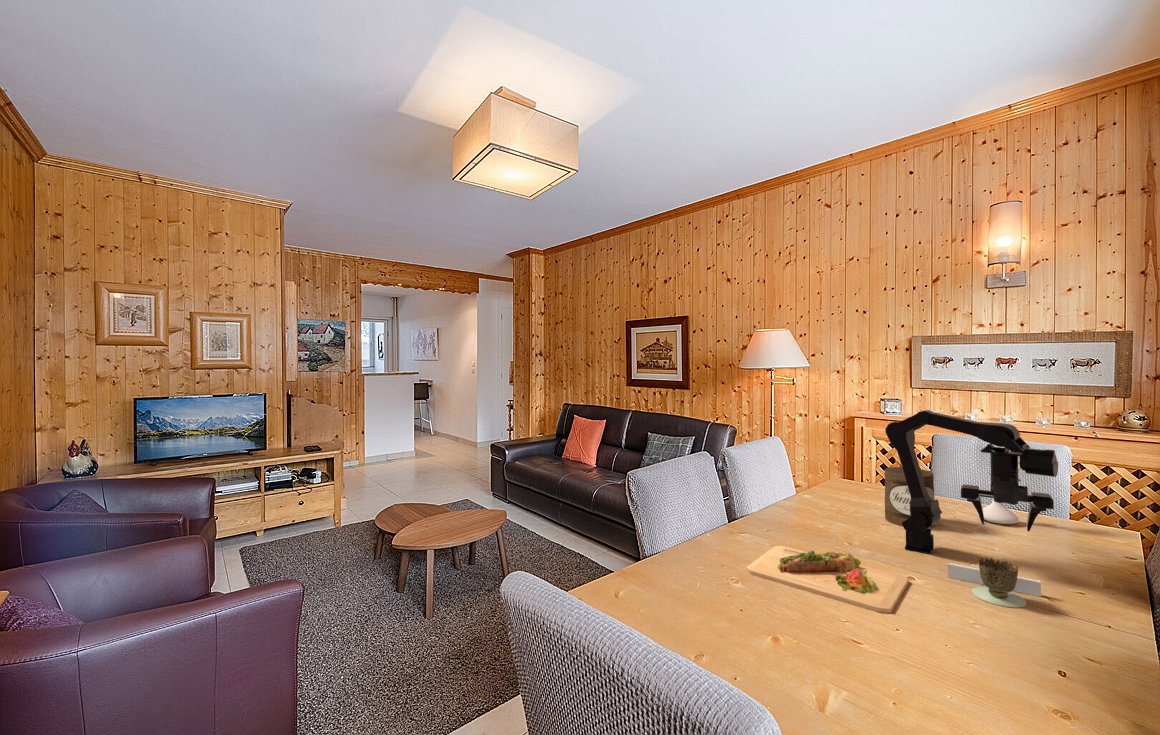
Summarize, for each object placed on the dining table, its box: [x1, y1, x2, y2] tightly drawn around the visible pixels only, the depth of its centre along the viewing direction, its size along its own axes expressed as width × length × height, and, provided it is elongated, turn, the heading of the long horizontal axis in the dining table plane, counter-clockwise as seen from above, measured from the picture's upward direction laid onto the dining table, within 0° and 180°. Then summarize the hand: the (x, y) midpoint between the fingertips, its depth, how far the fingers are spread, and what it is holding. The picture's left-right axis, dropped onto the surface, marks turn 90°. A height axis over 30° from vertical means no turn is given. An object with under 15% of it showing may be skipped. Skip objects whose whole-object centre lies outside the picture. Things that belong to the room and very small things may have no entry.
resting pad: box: [971, 586, 1027, 609], centre depth 117 cm, size 10×10×1 cm
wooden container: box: [884, 466, 936, 527], centre depth 173 cm, size 15×15×22 cm
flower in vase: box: [976, 456, 1022, 525], centre depth 170 cm, size 13×11×25 cm
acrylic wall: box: [947, 562, 1042, 598], centre depth 123 cm, size 18×1×4 cm, turn 50°
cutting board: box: [745, 545, 910, 614], centre depth 131 cm, size 35×23×8 cm
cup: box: [977, 557, 1019, 599], centre depth 117 cm, size 8×7×8 cm
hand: (1005, 527), depth 131 cm, fingers open, 9 cm apart
